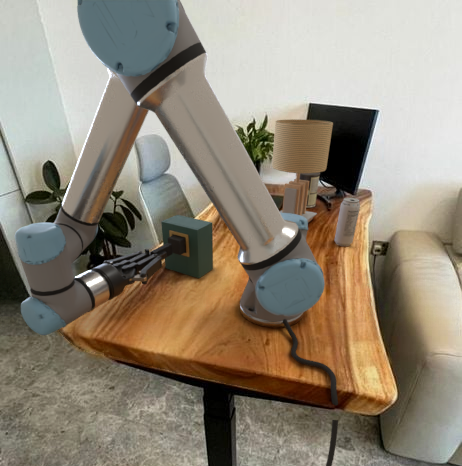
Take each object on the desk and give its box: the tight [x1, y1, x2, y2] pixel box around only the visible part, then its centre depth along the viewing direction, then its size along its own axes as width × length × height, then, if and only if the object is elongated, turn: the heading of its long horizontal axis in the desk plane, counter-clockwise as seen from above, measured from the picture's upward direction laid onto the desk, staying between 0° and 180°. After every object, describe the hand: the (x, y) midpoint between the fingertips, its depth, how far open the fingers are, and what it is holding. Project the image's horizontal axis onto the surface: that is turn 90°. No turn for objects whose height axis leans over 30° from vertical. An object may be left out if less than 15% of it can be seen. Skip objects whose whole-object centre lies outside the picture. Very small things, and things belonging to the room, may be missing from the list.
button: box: [168, 235, 186, 255], centre depth 95 cm, size 5×4×4 cm
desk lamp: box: [271, 119, 334, 223], centre depth 130 cm, size 20×20×35 cm
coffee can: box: [295, 172, 321, 209], centre depth 156 cm, size 10×10×14 cm
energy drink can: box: [334, 197, 361, 247], centre depth 116 cm, size 6×6×15 cm
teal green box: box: [160, 214, 214, 279], centre depth 98 cm, size 7×12×14 cm, turn 59°
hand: (169, 248), depth 92 cm, fingers closed
